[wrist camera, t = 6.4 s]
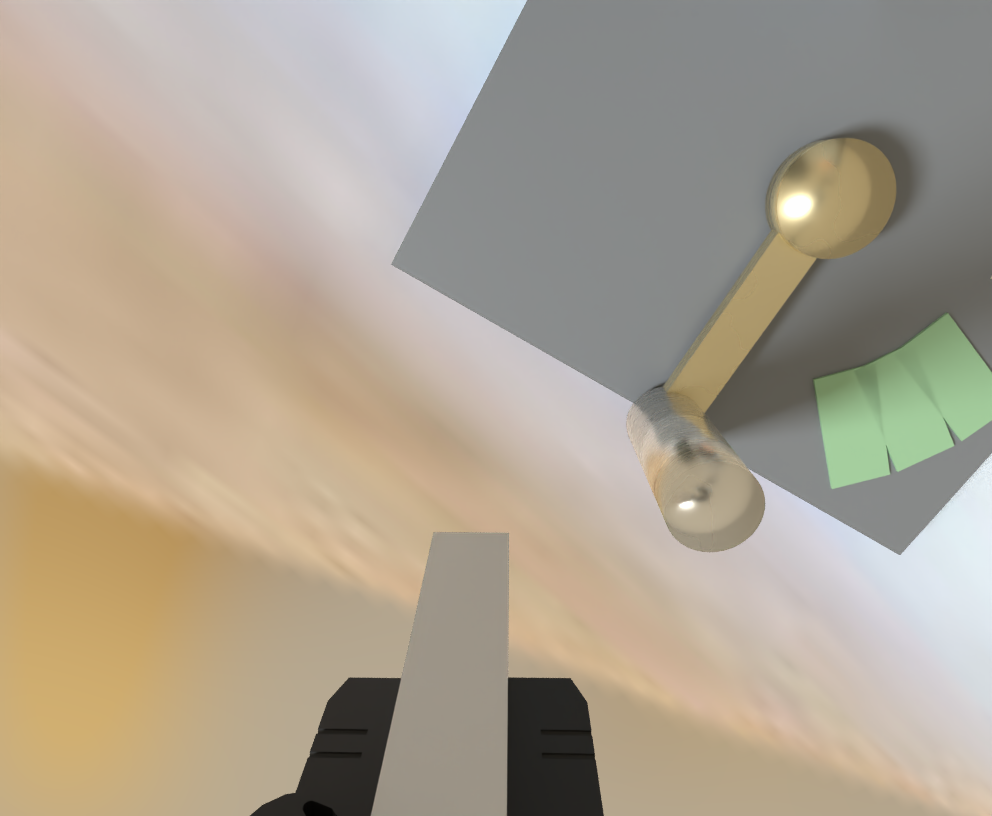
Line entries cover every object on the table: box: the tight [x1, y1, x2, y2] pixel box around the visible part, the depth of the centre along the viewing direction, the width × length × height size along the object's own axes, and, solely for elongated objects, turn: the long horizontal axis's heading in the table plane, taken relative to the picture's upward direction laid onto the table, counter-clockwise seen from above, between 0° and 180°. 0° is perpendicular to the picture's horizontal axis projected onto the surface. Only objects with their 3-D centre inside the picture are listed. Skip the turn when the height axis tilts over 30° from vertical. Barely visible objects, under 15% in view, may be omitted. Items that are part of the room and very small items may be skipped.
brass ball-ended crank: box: [626, 138, 896, 552], centre depth 18 cm, size 11×3×6 cm, turn 150°
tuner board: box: [391, 0, 992, 555], centre depth 18 cm, size 22×20×5 cm
